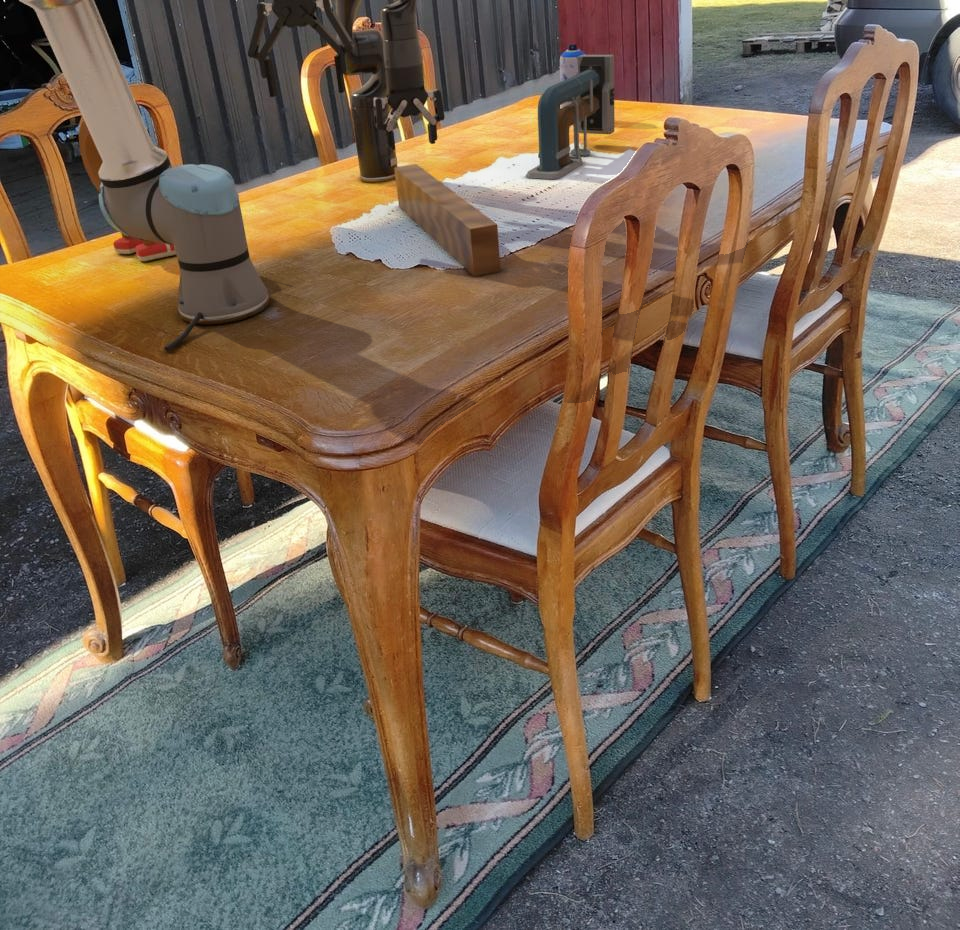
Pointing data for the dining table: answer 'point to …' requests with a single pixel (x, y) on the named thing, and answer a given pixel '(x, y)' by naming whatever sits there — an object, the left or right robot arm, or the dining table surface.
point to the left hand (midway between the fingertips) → (307, 93)
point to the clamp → (574, 115)
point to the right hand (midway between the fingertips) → (412, 146)
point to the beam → (449, 220)
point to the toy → (92, 166)
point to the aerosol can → (569, 65)
